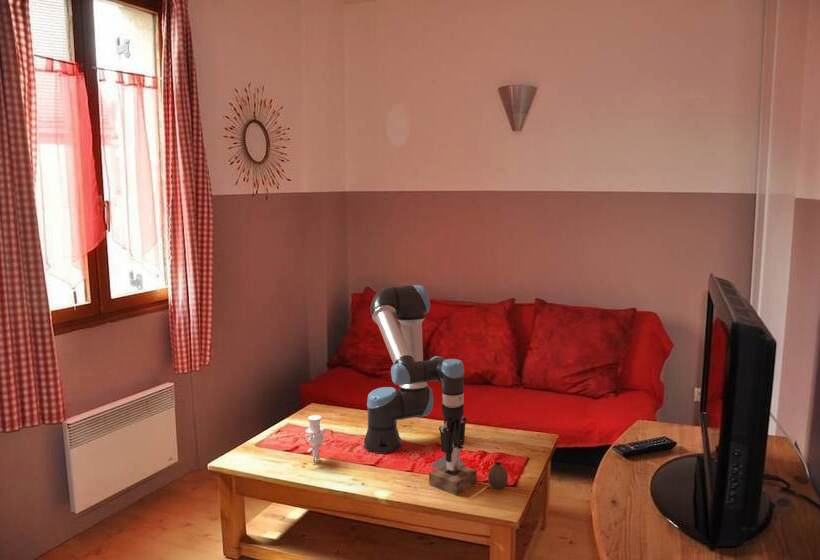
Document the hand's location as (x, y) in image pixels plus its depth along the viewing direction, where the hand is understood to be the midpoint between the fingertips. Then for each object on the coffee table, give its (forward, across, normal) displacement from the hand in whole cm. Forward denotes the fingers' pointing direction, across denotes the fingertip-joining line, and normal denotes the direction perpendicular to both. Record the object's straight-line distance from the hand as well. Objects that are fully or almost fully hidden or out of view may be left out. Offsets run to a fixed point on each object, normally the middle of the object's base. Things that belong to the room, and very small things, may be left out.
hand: (453, 467), depth 230 cm
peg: (+4, 0, 0) cm, 4 cm away
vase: (+7, +9, -13) cm, 17 cm away
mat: (+7, +12, +11) cm, 17 cm away
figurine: (+7, -18, +52) cm, 55 cm away
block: (+7, 0, 0) cm, 7 cm away
